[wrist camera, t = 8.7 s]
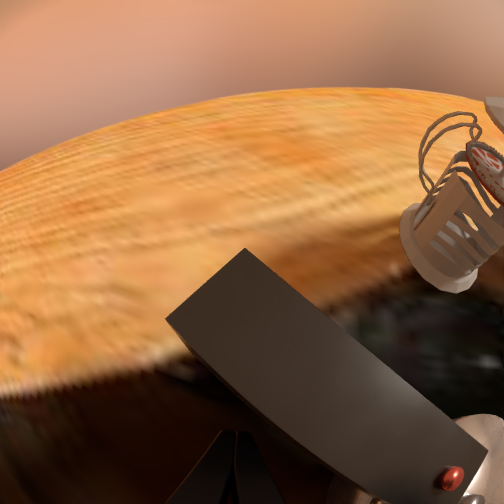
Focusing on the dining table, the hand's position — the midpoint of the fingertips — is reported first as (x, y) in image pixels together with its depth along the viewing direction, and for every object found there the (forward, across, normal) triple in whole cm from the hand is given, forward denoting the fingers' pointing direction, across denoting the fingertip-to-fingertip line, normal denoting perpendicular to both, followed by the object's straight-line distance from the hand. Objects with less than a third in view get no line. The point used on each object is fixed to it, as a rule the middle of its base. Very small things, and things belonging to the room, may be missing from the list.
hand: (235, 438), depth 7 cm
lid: (0, -8, +4) cm, 9 cm away
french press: (+17, -16, -4) cm, 24 cm away
